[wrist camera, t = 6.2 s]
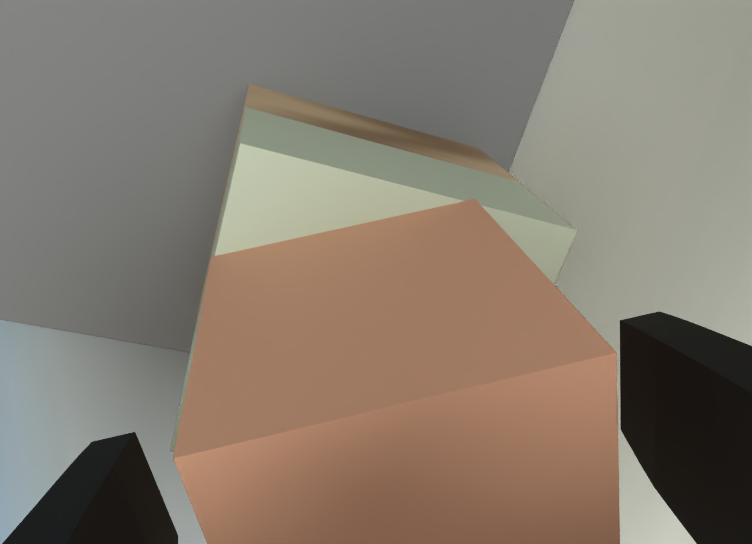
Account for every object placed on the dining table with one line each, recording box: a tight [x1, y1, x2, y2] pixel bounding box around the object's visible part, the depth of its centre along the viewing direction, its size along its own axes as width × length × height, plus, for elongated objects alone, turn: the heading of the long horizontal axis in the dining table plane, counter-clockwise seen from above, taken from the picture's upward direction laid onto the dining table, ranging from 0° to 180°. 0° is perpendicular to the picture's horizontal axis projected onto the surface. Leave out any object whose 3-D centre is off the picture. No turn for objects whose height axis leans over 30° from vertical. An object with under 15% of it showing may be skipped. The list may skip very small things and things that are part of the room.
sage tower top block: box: [170, 107, 578, 452], centre depth 13 cm, size 6×6×3 cm
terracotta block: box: [173, 199, 620, 544], centre depth 10 cm, size 4×4×5 cm
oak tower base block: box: [188, 84, 518, 360], centre depth 16 cm, size 6×6×3 cm
